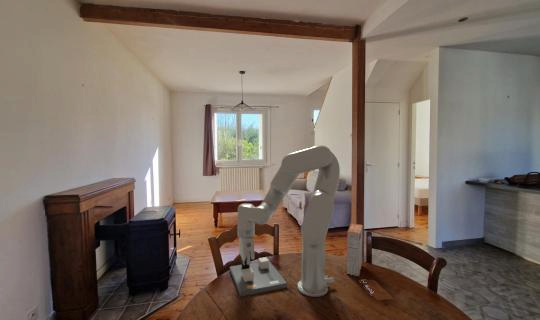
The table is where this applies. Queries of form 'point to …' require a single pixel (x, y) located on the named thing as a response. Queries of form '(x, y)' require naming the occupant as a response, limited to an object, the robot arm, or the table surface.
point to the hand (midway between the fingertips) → (245, 272)
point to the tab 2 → (263, 263)
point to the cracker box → (354, 249)
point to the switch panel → (257, 279)
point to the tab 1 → (247, 274)
